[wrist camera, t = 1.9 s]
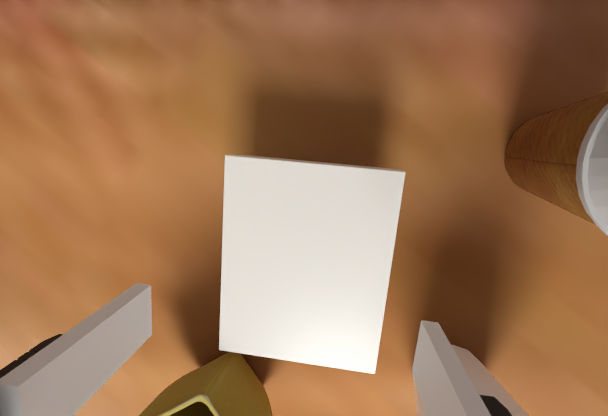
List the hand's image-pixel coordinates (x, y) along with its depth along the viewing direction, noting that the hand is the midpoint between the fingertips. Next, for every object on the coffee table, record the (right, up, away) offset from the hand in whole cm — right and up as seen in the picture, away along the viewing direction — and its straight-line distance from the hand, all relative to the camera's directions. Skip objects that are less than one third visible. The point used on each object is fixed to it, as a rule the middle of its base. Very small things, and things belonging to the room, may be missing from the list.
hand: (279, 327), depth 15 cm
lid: (+1, +2, +10) cm, 10 cm away
